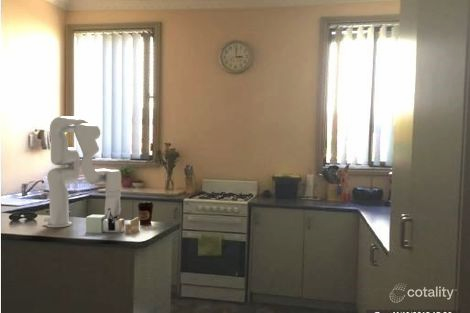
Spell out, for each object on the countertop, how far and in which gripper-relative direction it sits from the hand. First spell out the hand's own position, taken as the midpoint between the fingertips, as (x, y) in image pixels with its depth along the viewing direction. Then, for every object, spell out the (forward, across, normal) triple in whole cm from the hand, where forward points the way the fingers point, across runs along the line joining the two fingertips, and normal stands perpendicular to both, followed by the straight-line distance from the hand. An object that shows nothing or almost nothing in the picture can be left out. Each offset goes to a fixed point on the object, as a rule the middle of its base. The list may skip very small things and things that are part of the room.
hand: (113, 228), depth 216 cm
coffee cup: (+2, -18, +11) cm, 21 cm away
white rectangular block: (+1, 0, -4) cm, 4 cm away
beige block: (+1, 0, +10) cm, 10 cm away
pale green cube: (+1, 0, -9) cm, 9 cm away
